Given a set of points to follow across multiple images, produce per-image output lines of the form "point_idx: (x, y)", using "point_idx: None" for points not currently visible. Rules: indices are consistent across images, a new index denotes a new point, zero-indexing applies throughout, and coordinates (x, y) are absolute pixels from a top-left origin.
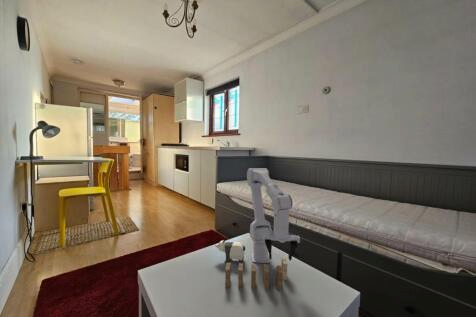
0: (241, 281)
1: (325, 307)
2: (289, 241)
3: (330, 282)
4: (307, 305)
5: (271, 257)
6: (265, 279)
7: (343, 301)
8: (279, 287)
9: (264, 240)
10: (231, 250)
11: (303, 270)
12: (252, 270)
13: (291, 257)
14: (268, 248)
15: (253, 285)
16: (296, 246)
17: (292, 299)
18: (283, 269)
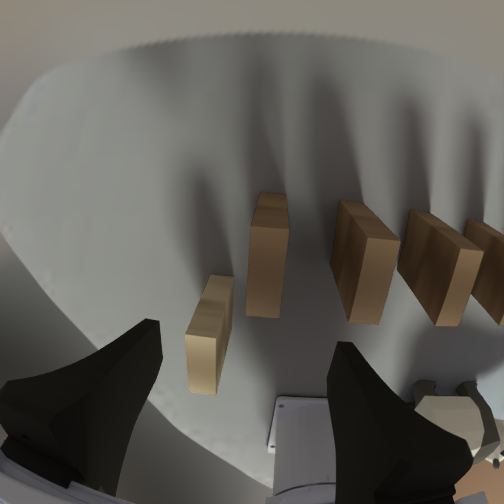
0: (489, 231)
1: (75, 87)
2: (100, 486)
3: (24, 251)
4: (148, 84)
5: (342, 351)
6: (374, 220)
7: (9, 139)
8: (275, 196)
9: (466, 502)
10: (479, 425)
11: (114, 336)
12: (478, 253)
13: (128, 330)
14: (413, 419)
15: (427, 215)
16: (3, 387)
17: (216, 118)
18: (221, 310)
